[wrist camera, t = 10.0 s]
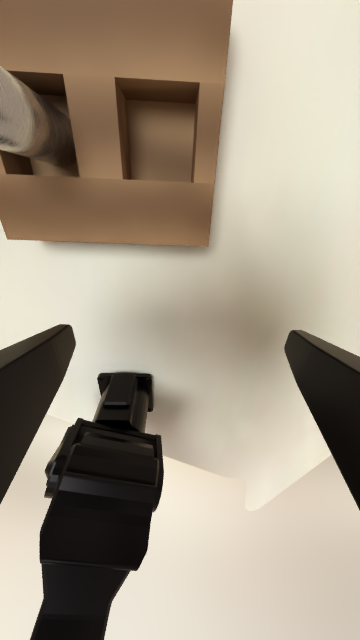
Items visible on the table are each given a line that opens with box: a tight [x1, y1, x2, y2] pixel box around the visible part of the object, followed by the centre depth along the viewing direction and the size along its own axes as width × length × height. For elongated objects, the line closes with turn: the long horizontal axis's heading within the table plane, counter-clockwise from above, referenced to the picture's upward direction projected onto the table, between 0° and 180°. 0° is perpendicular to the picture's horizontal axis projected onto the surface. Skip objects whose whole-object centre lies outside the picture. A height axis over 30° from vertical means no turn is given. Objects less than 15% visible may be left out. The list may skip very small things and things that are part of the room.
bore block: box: [0, 0, 233, 247], centre depth 14 cm, size 12×14×4 cm
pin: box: [0, 66, 77, 167], centre depth 11 cm, size 3×3×8 cm
